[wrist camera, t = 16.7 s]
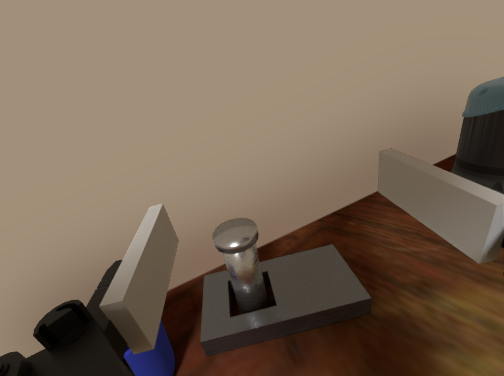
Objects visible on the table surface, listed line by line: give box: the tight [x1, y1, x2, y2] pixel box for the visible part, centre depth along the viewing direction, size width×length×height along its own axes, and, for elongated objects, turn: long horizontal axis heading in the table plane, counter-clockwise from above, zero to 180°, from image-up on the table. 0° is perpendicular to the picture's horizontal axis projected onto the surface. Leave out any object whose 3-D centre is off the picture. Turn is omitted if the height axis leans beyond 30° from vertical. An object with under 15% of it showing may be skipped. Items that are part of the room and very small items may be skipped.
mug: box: [124, 320, 175, 376], centre depth 27 cm, size 8×12×10 cm
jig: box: [201, 244, 371, 356], centre depth 35 cm, size 22×11×3 cm, turn 98°
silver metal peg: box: [213, 218, 269, 315], centre depth 33 cm, size 6×6×14 cm
